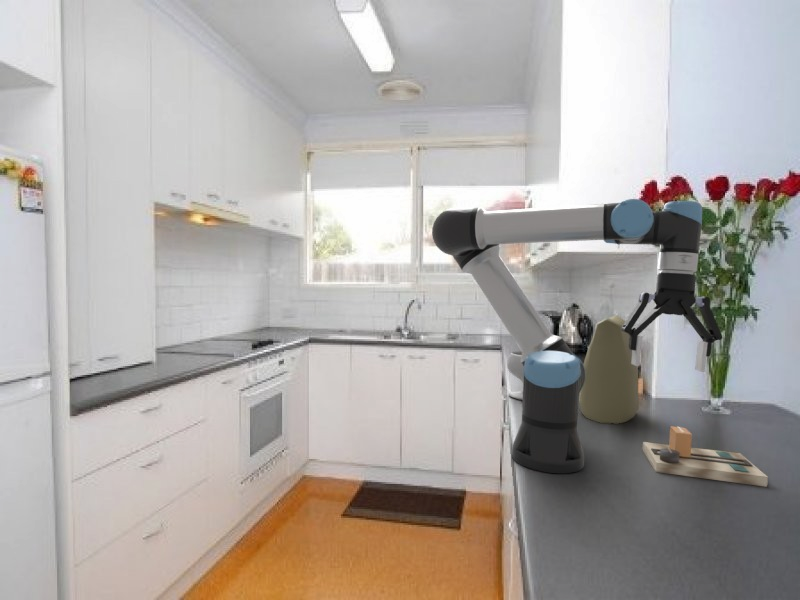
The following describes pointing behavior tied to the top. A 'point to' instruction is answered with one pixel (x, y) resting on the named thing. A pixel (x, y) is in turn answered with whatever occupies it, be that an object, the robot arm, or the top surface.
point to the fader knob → (680, 441)
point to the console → (704, 464)
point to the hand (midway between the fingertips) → (667, 367)
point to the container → (609, 375)
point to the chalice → (516, 371)
